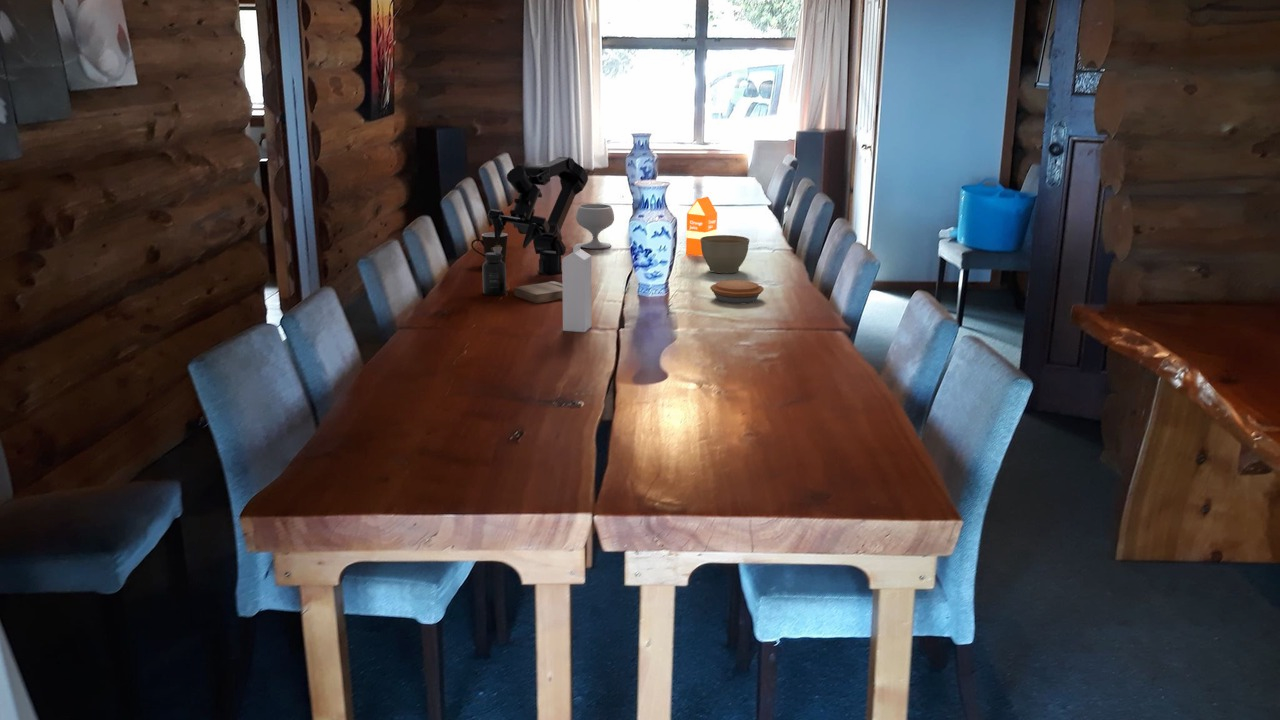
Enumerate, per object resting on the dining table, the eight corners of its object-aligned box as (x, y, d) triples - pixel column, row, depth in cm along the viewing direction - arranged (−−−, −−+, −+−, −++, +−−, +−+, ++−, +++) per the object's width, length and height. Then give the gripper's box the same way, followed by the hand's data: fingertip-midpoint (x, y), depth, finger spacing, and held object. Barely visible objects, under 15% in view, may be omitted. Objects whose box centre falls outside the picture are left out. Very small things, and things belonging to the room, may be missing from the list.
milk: (562, 331, 263) (561, 246, 257) (570, 325, 269) (568, 242, 262) (585, 332, 262) (584, 247, 255) (592, 326, 267) (591, 243, 261)
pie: (699, 299, 299) (699, 282, 298) (731, 291, 310) (732, 275, 309) (741, 308, 289) (741, 291, 288) (773, 299, 300) (774, 283, 298)
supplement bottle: (510, 292, 305) (509, 252, 302) (498, 296, 299) (497, 256, 296) (491, 289, 308) (490, 250, 304) (478, 294, 302) (477, 254, 298)
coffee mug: (510, 261, 349) (510, 232, 346) (505, 266, 341) (504, 237, 338) (477, 260, 350) (476, 231, 347) (471, 265, 342) (470, 236, 339)
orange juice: (716, 252, 370) (718, 197, 364) (704, 256, 363) (706, 200, 357) (697, 250, 374) (698, 195, 368) (685, 254, 367) (686, 198, 361)
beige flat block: (553, 289, 309) (553, 280, 308) (576, 296, 300) (576, 287, 299) (514, 295, 301) (513, 286, 300) (536, 303, 292) (536, 293, 291)
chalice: (592, 241, 388) (592, 202, 384) (621, 246, 381) (621, 205, 376) (568, 247, 377) (568, 206, 373) (598, 251, 370) (598, 210, 365)
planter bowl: (748, 267, 345) (749, 235, 342) (748, 277, 330) (749, 243, 327) (700, 265, 347) (701, 233, 344) (698, 275, 331) (699, 242, 328)
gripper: (561, 220, 317) (545, 263, 312) (506, 211, 323) (490, 254, 317) (551, 200, 307) (535, 245, 302) (495, 192, 313) (478, 235, 307)
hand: (509, 245), depth 307 cm, fingers open, 9 cm apart
